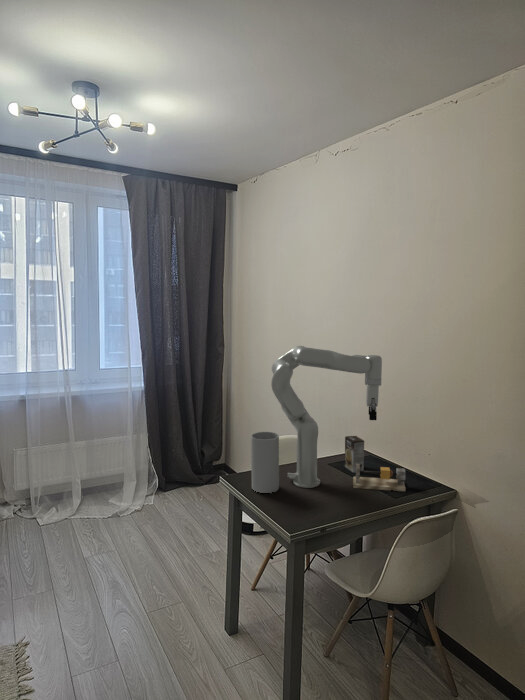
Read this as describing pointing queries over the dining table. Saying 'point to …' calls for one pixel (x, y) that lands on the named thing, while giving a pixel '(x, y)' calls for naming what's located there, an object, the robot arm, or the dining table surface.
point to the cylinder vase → (265, 462)
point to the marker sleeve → (385, 473)
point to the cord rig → (380, 480)
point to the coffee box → (354, 453)
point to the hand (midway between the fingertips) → (372, 417)
